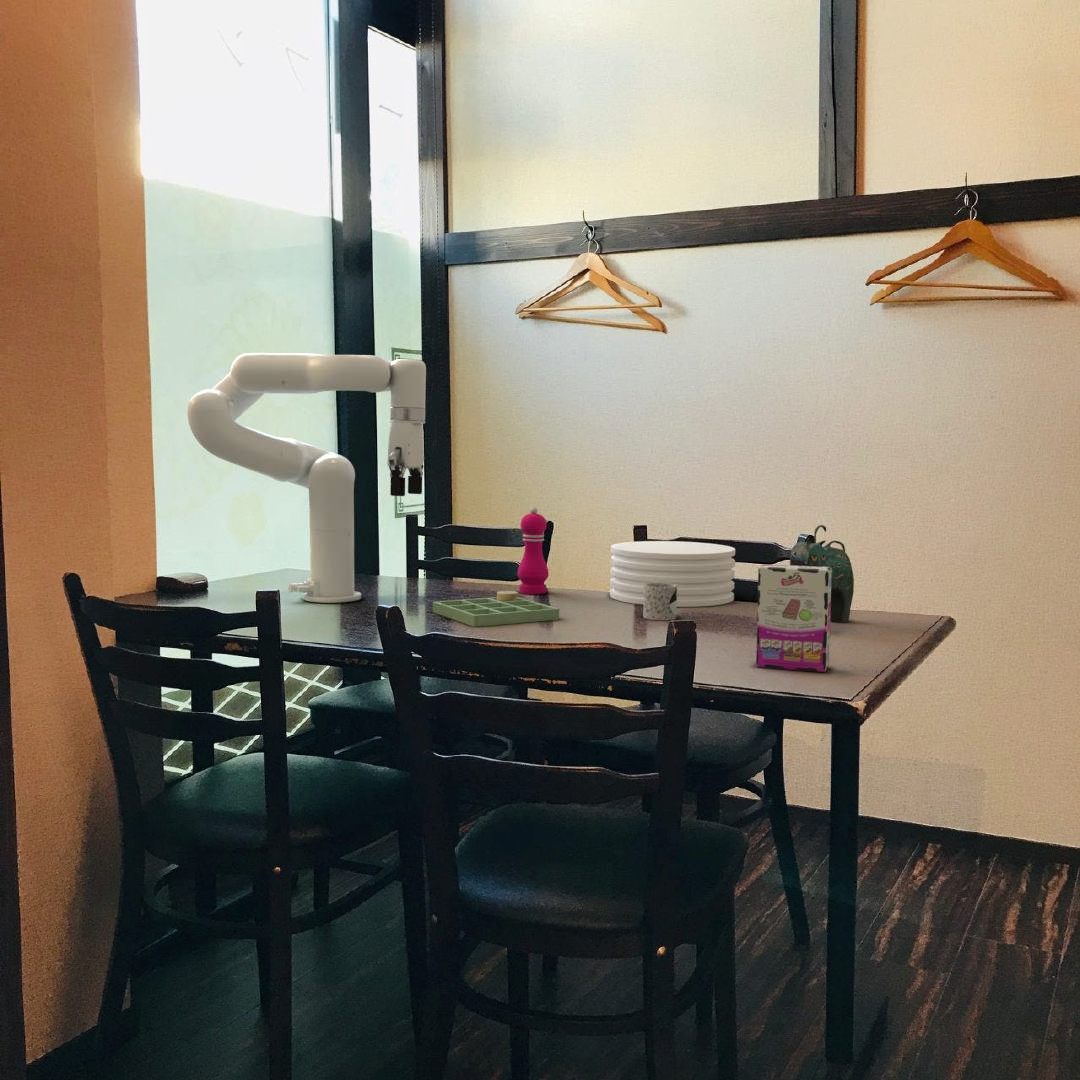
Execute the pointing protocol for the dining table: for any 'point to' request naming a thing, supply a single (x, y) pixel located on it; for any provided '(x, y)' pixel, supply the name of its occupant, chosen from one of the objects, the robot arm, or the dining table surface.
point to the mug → (660, 601)
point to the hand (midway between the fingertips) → (406, 494)
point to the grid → (495, 611)
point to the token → (507, 596)
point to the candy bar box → (793, 617)
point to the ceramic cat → (840, 575)
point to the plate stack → (673, 571)
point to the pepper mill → (533, 555)
